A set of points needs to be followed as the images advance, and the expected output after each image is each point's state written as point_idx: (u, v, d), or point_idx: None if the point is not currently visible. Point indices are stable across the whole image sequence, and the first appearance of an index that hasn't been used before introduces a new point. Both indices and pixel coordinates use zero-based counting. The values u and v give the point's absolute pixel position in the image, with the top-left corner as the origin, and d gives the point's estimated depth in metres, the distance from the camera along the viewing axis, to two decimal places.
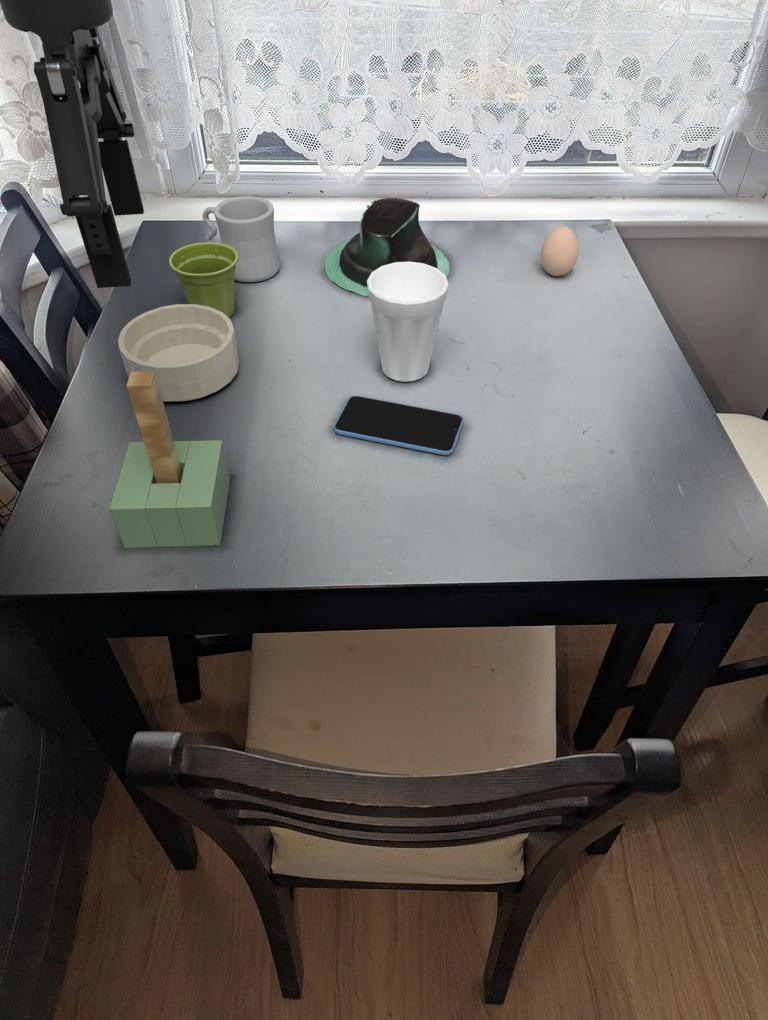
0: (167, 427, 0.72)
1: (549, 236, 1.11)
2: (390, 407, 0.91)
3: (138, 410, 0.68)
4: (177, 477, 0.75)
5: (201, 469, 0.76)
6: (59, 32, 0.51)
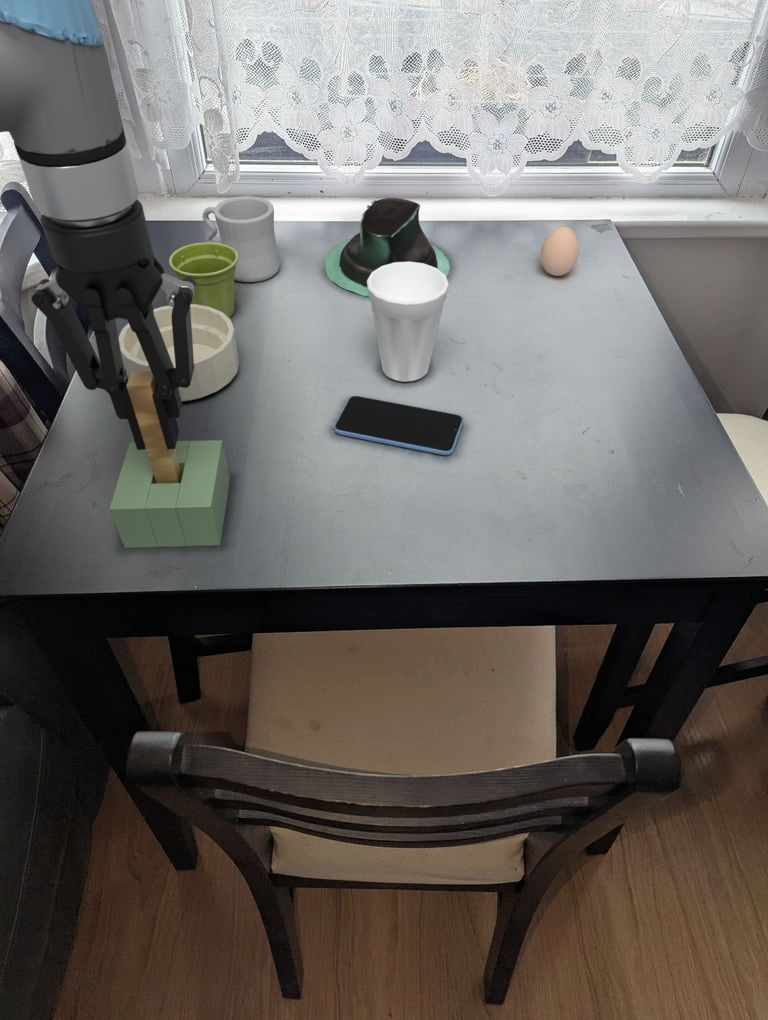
0: None
1: (549, 236, 1.11)
2: (390, 407, 0.91)
3: (138, 410, 0.68)
4: (177, 477, 0.75)
5: (201, 469, 0.76)
6: (151, 248, 0.58)
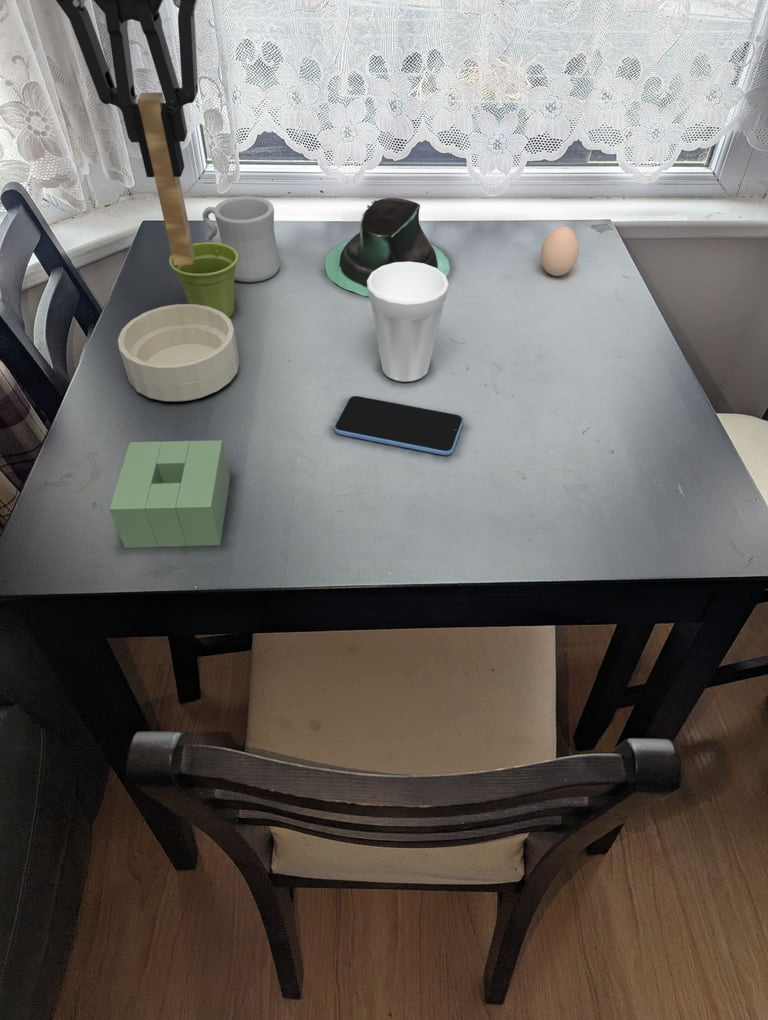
0: None
1: (549, 236, 1.11)
2: (390, 407, 0.91)
3: (147, 130, 0.76)
4: (182, 213, 0.83)
5: (201, 469, 0.76)
6: None
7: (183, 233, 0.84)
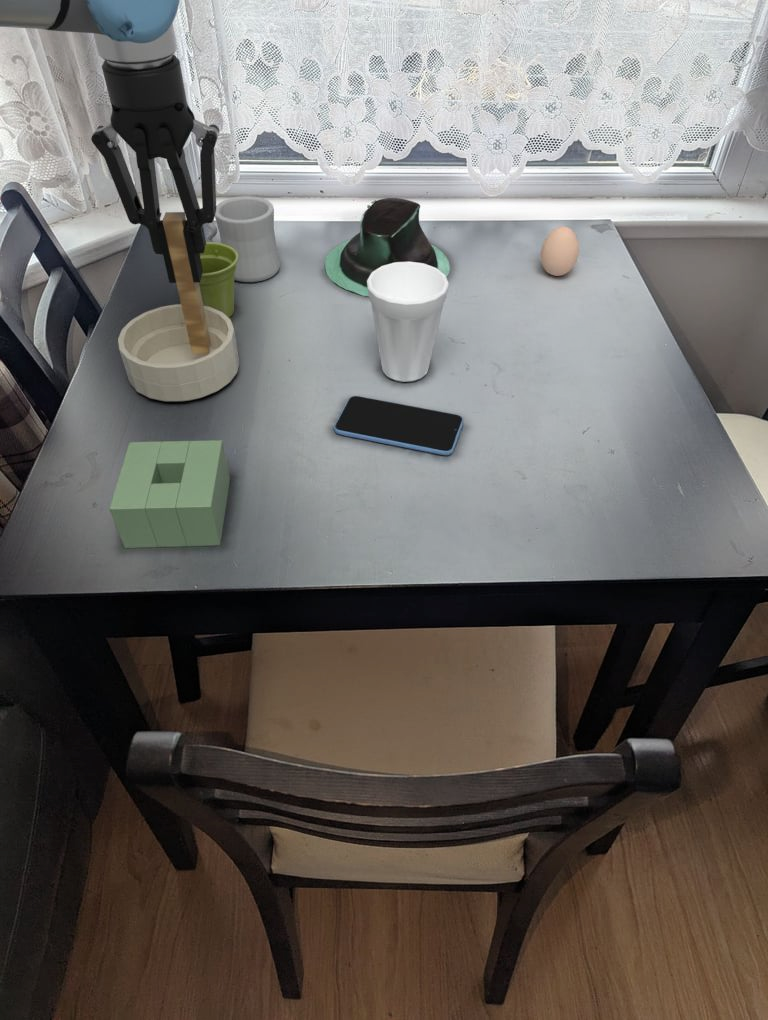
0: None
1: (549, 236, 1.11)
2: (390, 407, 0.91)
3: (171, 244, 0.85)
4: (200, 311, 0.91)
5: (201, 469, 0.76)
6: (185, 96, 0.75)
7: (200, 328, 0.93)
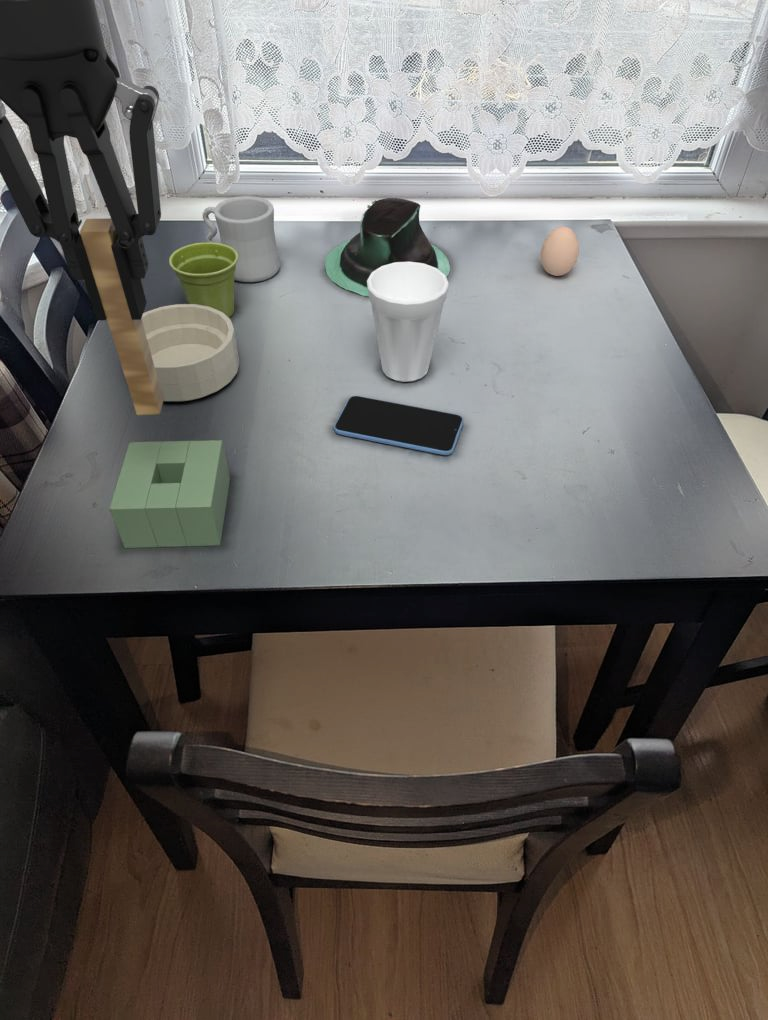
0: None
1: (549, 236, 1.11)
2: (390, 407, 0.91)
3: (95, 266, 0.58)
4: (145, 359, 0.65)
5: (201, 469, 0.76)
6: (103, 40, 0.48)
7: (146, 381, 0.66)
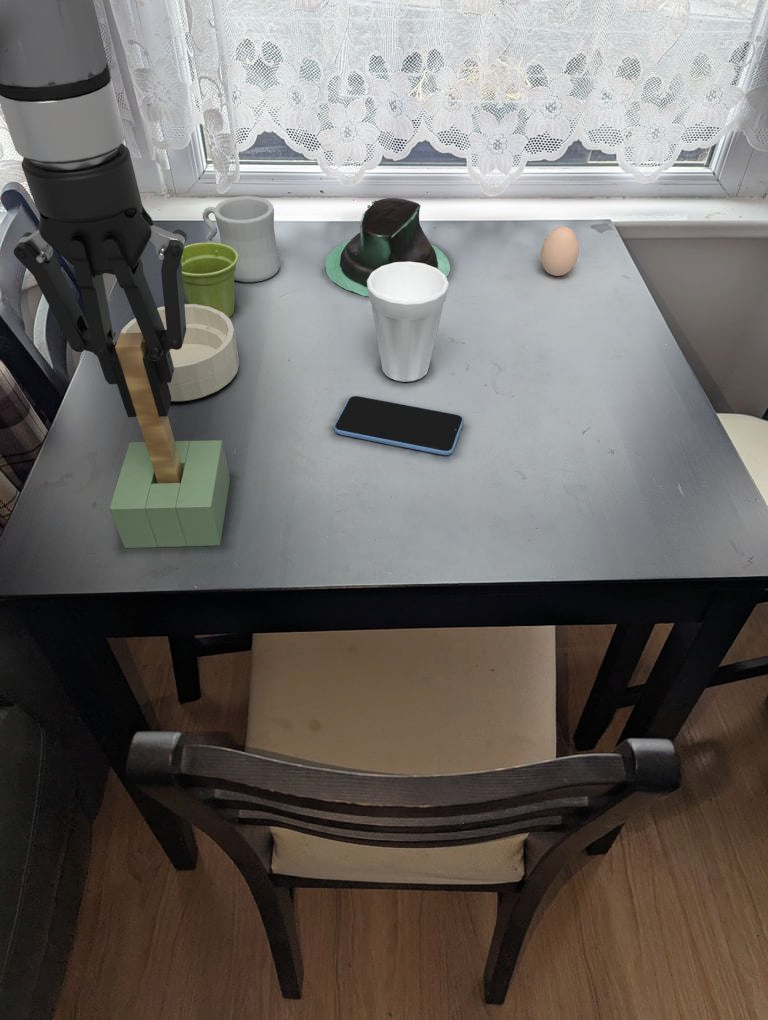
0: None
1: (549, 236, 1.11)
2: (390, 407, 0.91)
3: (128, 374, 0.65)
4: (169, 447, 0.72)
5: (201, 469, 0.76)
6: (140, 197, 0.55)
7: (170, 465, 0.73)
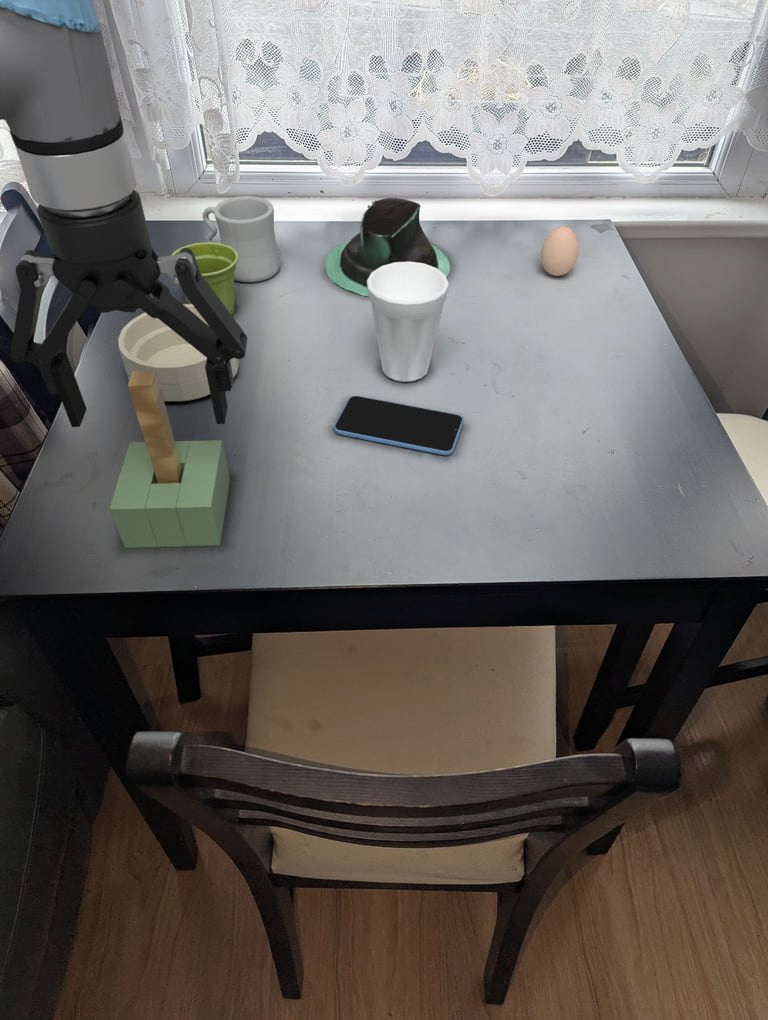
0: (168, 427, 0.72)
1: (549, 236, 1.11)
2: (390, 407, 0.91)
3: (139, 410, 0.68)
4: (178, 477, 0.75)
5: (201, 469, 0.76)
6: (149, 239, 0.58)
7: None
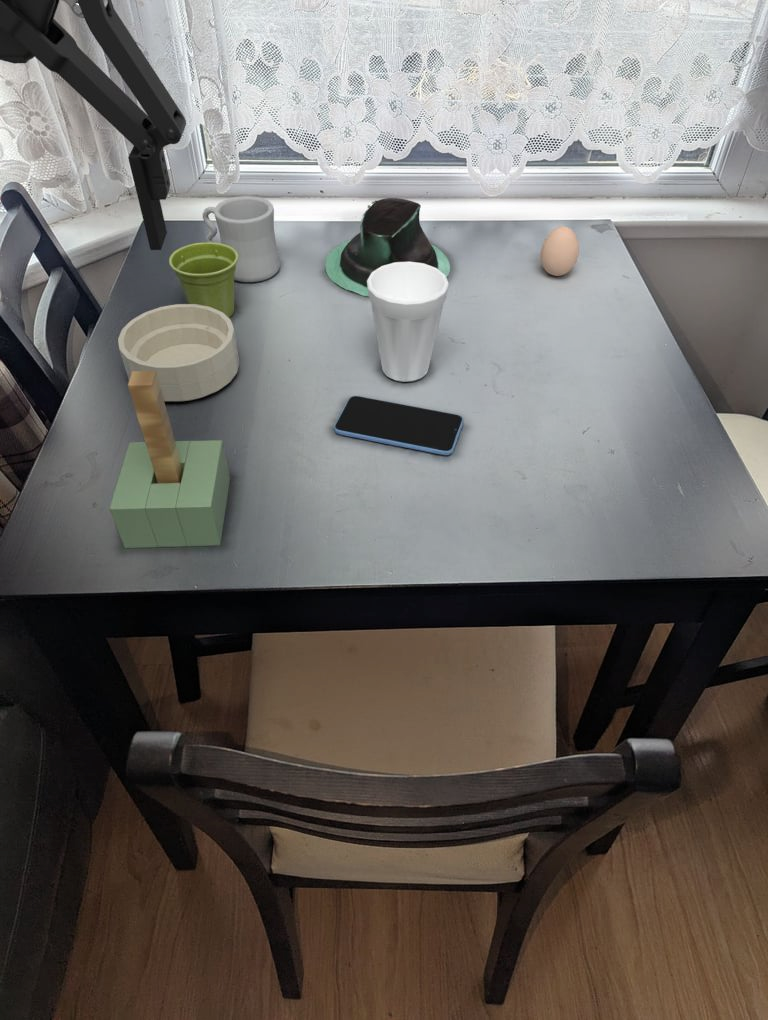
0: (168, 427, 0.72)
1: (549, 236, 1.11)
2: (390, 407, 0.91)
3: (139, 410, 0.68)
4: (178, 477, 0.75)
5: (201, 469, 0.76)
6: None
7: None
